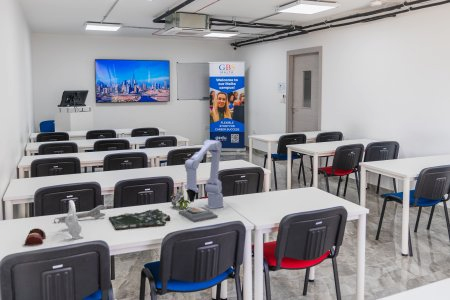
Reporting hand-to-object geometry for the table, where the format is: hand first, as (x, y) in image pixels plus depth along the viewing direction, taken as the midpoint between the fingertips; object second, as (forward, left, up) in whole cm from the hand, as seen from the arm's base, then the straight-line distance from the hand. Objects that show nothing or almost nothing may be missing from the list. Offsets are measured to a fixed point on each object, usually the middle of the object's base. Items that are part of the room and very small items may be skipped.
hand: (191, 201), depth 248 cm
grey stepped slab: (-4, 0, -9) cm, 10 cm away
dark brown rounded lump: (+86, -7, -10) cm, 87 cm away
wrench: (+58, -29, -10) cm, 66 cm away
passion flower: (-3, -21, -10) cm, 23 cm away
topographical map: (+29, -8, -10) cm, 32 cm away
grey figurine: (+67, -8, -10) cm, 68 cm away
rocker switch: (-4, 0, -7) cm, 8 cm away
